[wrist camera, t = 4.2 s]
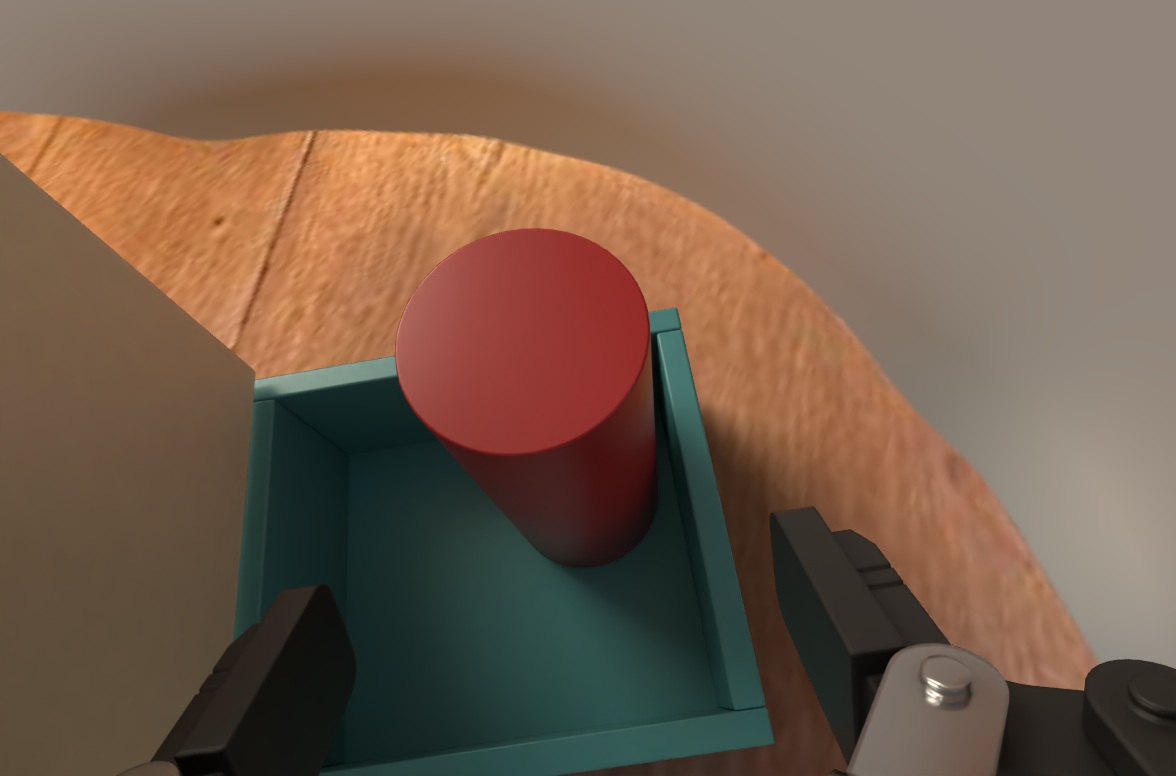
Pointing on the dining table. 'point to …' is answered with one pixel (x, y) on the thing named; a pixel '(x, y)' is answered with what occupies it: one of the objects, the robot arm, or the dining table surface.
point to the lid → (107, 497)
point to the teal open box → (496, 591)
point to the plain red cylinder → (540, 387)
